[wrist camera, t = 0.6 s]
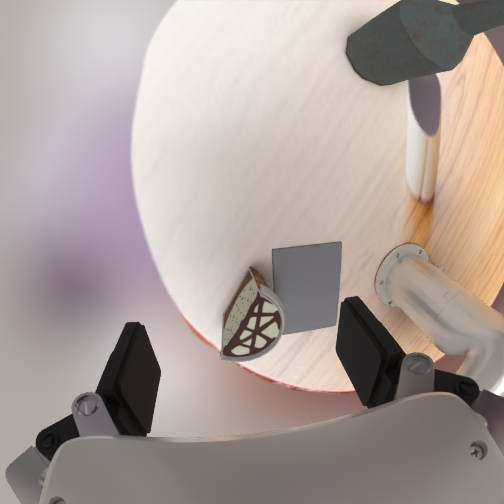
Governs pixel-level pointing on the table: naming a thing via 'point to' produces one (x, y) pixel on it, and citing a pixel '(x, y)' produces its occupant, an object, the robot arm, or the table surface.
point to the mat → (308, 285)
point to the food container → (251, 320)
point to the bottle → (419, 38)
